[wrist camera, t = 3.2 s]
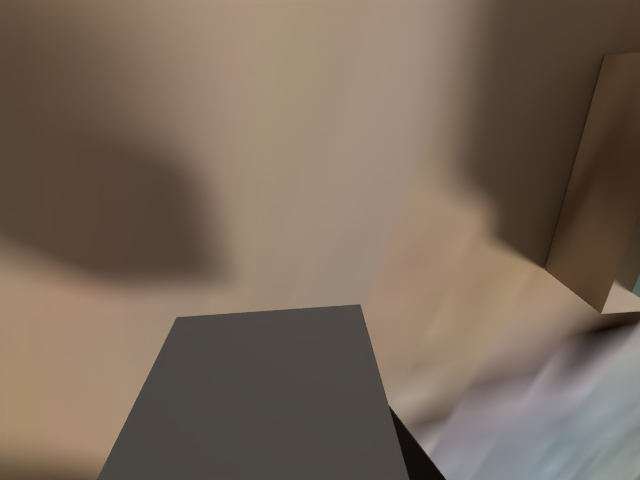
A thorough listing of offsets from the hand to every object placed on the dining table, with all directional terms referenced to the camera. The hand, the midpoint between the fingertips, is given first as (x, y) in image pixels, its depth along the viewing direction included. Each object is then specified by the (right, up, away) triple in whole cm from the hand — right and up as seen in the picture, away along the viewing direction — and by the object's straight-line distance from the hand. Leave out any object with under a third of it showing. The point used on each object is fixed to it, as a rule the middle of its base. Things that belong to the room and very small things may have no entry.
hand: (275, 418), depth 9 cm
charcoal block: (0, +1, +1) cm, 1 cm away
